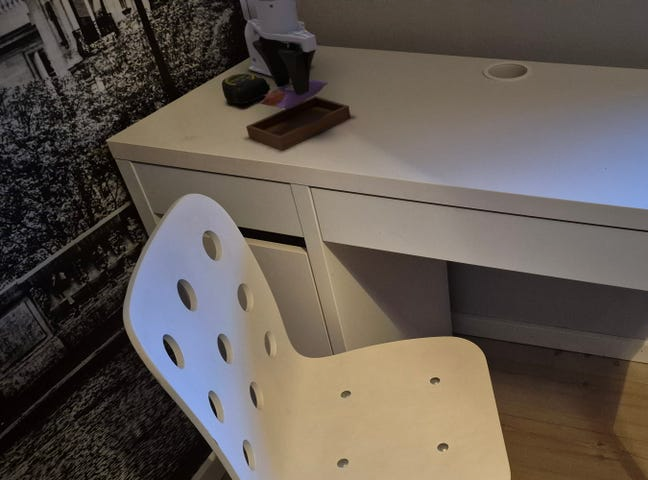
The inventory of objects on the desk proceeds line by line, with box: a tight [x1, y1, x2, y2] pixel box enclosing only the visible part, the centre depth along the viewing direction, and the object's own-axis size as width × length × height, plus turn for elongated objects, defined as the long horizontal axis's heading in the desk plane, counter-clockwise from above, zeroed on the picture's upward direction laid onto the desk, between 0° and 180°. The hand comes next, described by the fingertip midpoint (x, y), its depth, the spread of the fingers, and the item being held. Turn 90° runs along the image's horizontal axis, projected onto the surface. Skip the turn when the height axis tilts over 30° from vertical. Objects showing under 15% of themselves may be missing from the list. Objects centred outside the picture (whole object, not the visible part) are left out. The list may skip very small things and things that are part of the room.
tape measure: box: [221, 73, 271, 104], centre depth 120 cm, size 7×7×4 cm
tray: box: [245, 95, 351, 151], centre depth 111 cm, size 15×8×2 cm, turn 144°
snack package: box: [258, 78, 329, 110], centre depth 108 cm, size 12×2×5 cm
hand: (293, 89), depth 107 cm, fingers closed on snack package, 4 cm apart
